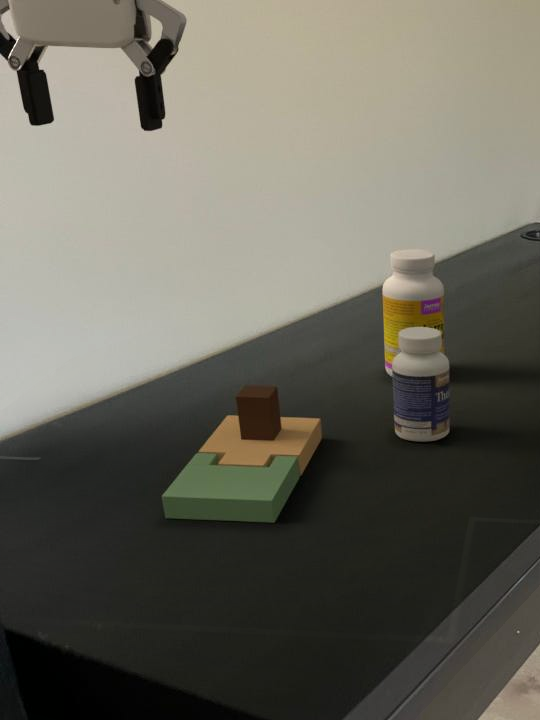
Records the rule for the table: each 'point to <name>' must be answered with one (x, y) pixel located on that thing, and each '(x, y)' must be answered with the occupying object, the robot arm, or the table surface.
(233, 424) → the tan pad
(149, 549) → the table surface
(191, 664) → the table surface
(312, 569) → the table surface
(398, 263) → the supplement bottle
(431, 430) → the pill bottle
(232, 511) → the green pad
